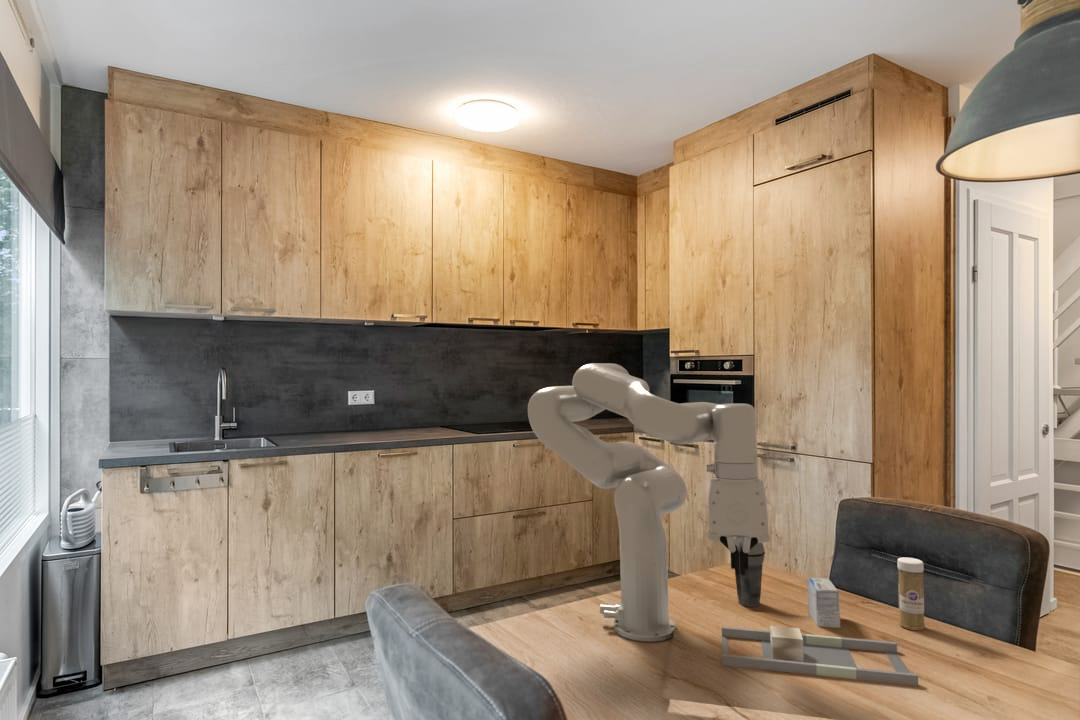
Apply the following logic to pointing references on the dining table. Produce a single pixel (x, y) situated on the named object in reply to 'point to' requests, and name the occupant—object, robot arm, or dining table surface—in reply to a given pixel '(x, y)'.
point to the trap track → (821, 657)
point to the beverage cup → (750, 576)
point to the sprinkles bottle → (911, 593)
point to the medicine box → (823, 602)
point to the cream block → (786, 643)
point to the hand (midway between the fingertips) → (739, 572)
